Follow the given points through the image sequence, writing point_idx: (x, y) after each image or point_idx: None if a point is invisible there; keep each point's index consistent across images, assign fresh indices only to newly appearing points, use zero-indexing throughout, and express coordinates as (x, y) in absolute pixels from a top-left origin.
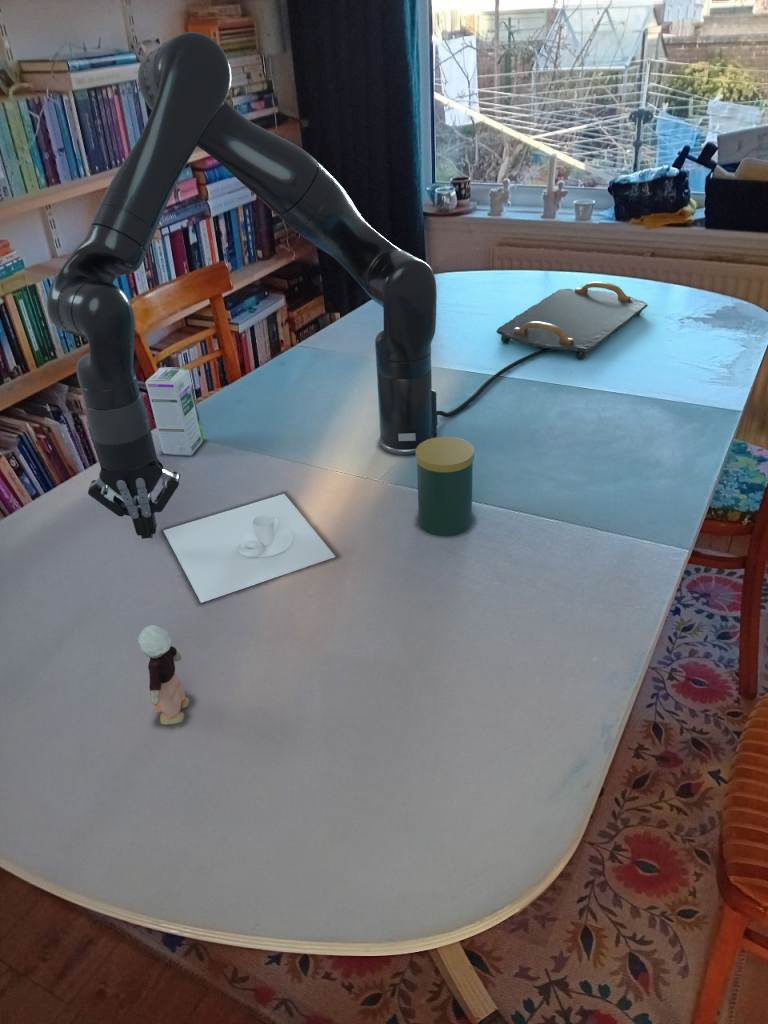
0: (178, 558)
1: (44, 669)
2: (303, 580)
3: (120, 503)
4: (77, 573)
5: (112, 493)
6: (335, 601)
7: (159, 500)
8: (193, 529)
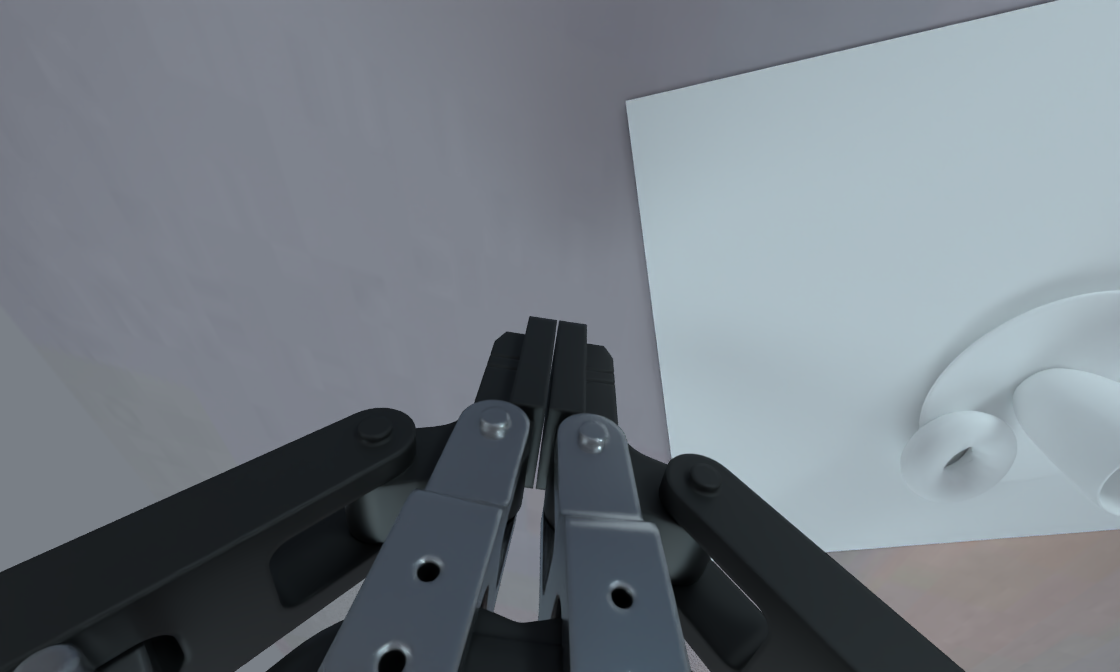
0: (662, 363)
1: (318, 614)
2: (998, 571)
3: (357, 500)
4: (257, 320)
5: (234, 574)
6: (1008, 642)
7: (701, 649)
8: (790, 156)
